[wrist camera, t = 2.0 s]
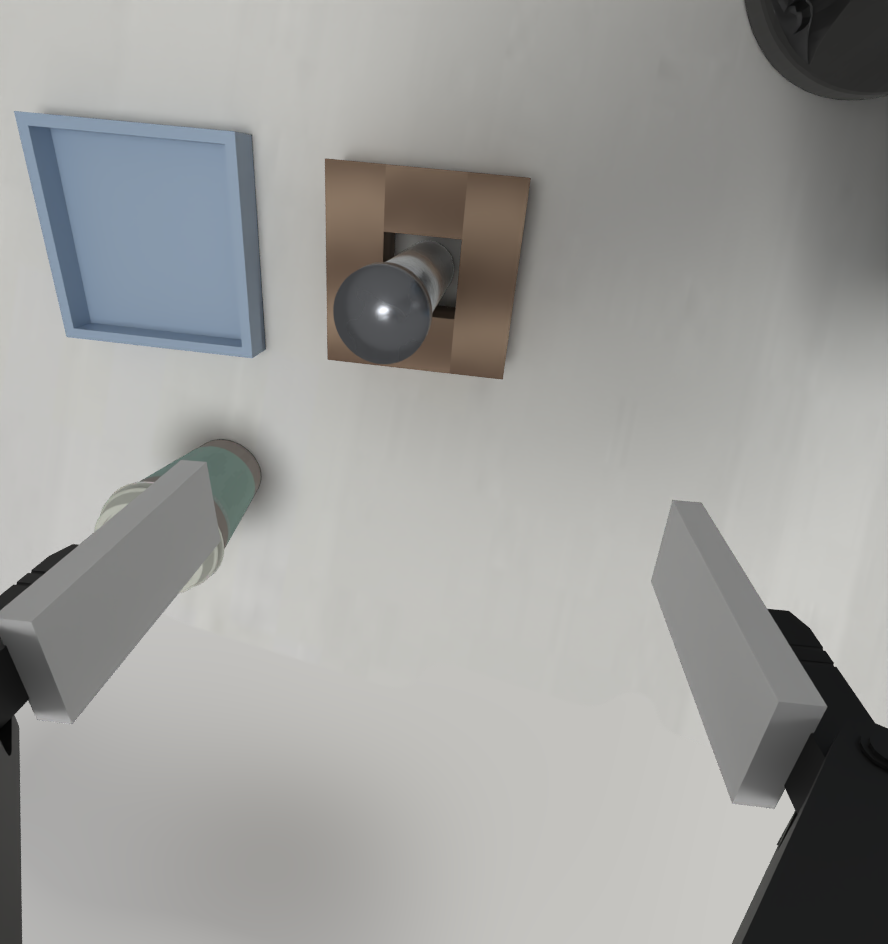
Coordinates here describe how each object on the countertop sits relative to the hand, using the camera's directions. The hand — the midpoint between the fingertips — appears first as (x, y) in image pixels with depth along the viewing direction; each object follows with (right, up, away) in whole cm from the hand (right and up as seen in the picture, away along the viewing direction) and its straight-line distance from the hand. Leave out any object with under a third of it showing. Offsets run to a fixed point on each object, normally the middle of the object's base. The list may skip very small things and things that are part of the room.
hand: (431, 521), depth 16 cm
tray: (-20, +18, +23) cm, 35 cm away
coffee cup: (-18, +2, +32) cm, 37 cm away
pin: (-1, +15, +22) cm, 27 cm away
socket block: (-1, +15, +22) cm, 27 cm away
